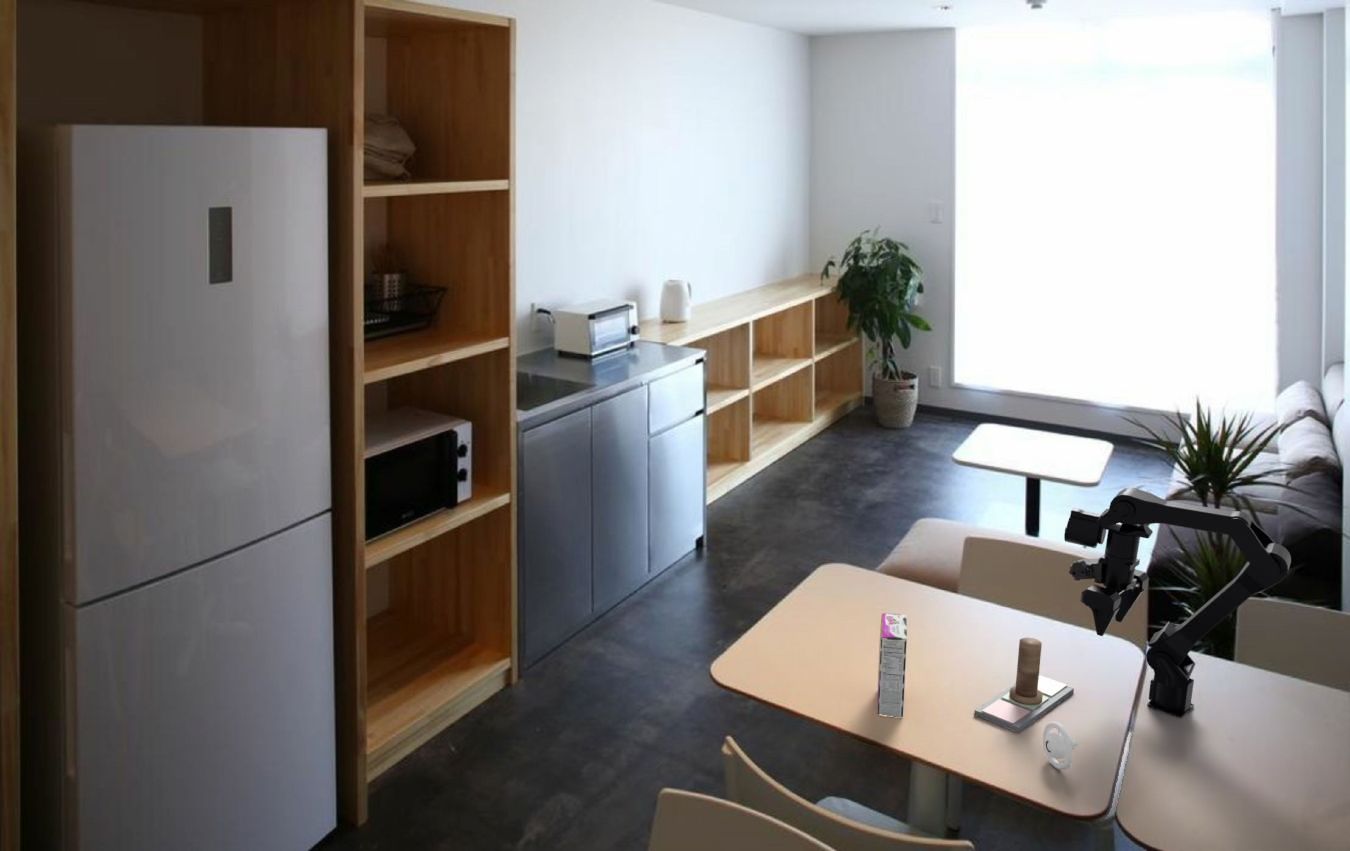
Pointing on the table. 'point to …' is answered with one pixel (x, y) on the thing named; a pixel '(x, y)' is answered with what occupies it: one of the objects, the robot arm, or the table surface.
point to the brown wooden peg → (1027, 673)
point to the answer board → (1023, 705)
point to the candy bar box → (892, 664)
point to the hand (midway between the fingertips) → (1109, 628)
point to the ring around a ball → (1058, 745)
